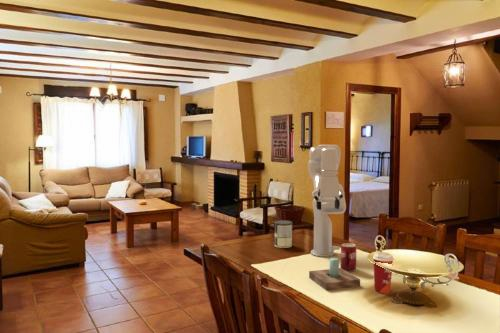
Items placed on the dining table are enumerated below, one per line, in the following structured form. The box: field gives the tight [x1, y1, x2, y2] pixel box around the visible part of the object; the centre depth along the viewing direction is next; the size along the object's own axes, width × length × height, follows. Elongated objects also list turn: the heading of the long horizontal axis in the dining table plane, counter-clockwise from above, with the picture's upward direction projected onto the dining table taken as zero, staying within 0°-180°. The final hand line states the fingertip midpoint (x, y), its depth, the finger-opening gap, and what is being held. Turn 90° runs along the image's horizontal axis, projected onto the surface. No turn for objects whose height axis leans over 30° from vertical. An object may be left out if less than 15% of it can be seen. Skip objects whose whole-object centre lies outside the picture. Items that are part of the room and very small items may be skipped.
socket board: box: [308, 267, 361, 291], centre depth 178 cm, size 16×16×3 cm
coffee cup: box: [372, 252, 395, 294], centre depth 168 cm, size 8×8×15 cm
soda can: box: [340, 242, 358, 273], centre depth 195 cm, size 7×7×12 cm
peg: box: [328, 257, 340, 278], centre depth 178 cm, size 4×4×10 cm
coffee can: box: [274, 219, 293, 249], centre depth 238 cm, size 10×10×14 cm
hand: (328, 208), depth 199 cm, fingers open, 9 cm apart
